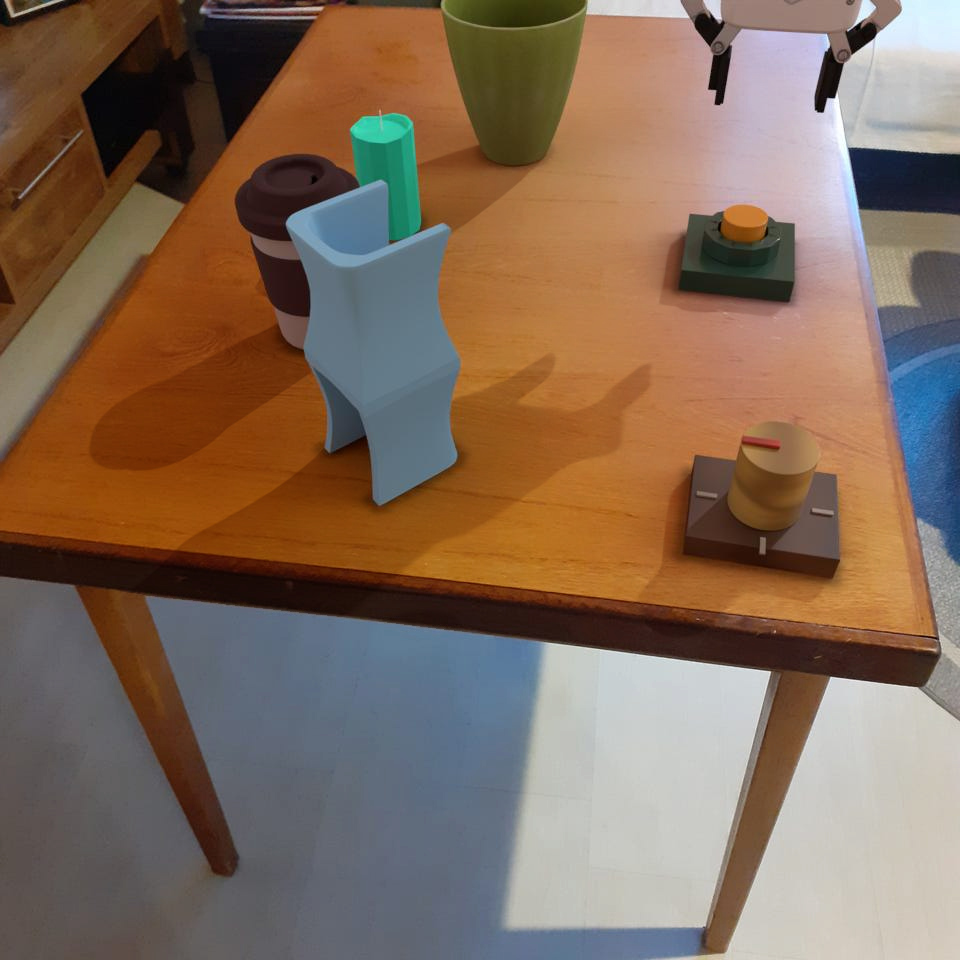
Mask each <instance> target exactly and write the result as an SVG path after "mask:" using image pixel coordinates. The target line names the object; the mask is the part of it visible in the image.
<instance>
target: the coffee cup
mask: <svg viewBox="0 0 960 960" xmlns="http://www.w3.org/2000/svg"><path fill="white" fill-rule="evenodd" d="M357 188H360V185H359V182H358V181H357V178H356V176H355V175H353V174H352V173H351V172H350V171H348V170H346V169H345V168H342V167H340V166H337V165H336V164H335V163H334V162H333V161H332V160H330V159H329V158H326V157H324V156H321V155H318V154H312V153H292V154H291V153H290V154H285V155H281V156H277V157H273V158H271V159H269V160H266V161H264V162H263V163H261V164H260V165H259V166H257V167H256V168H255V169H254V171H253V172H252V173H251V175H250V178H248V179H246V180H245V181H244V182H243V183H242V184H241V185H240V186H239V188H238V189H237V191H236V193H235V194H234V195H235V196H234V206H235V210H236V214H237V218H238V221H239V224H241V226H242V228H244V230H246V231H247V232H249V233H250V246H251V248H252V251H253V254H254V258H255V261H256V264H257V267H258V270H259V274H260V278H261V280H262V282H263V286H264V289H265V293H266V296H267V298H268V300H269V302H270V304H271V305H272V306H273V310H274V313H275V317H276V319H277V322H278V325H279V328H280V332H281V334H282V336H283V338H284V339H285V341H286V342H287V343H289V344H290V345H291V346H293V347H294V348H297V349H300V350H303V351H304V348H303V347H304V342H305V338H306V334H307V330H308V325H309V320H310V309H311V298H310V287H309V283H308V279H307V275H306V273H305V270H304V267H303V264H302V261H301V259H300V257H299V254H298V252H297V250H296V247H295V245H294V243H293V241H292V239H291V237H290V234H289V232H288V230H287V227H286V222H287V220H288V218H289V217H290V216H291V215H292V214H294V213H296V212H298V211H301V210H303V209H305V208H308V207H310V206H313V205H316V204H318V203H321V202H323V201H326V200H329V199H331V198H334V197H337V196H339V195H342V194H344V193H347V192H350V191H352V190H355V189H357Z"/></svg>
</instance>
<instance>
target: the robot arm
mask: <svg viewBox="0 0 960 960" xmlns="http://www.w3.org/2000/svg"><path fill="white" fill-rule="evenodd" d="M679 1H680V4H681V6H682V7H683V9H684V11H685V12H686V14H687V16H688V18H689V19H690V20H691V21H692V23H693V26H694V29H695V30H696V31H697V33H698V34H699V35H700V37H701V38H702V40H704V42H705V43H706V45H707V46H708V47H709V50H710V52H711V54H712V60H711V65H710V72H709V74H710V75H709V78H708V86H707V91H715V97H714V102H713V103H714V104H713V105H714V106H721V105H723V104H724V102H725V97H726V96H725V95H726V90H727V83H728V78H729V77H728V76H729V72H730V67H731V66H730V65H731V59H732V52H733V45H732V43H733V41H734V40H735V38H736V37H737V36H738V35H739V33H740V32H741V30H750V31H763V32H779V33H794V34H795V33H797V34H813V35H814V34H816V35H827V38H828V42H829V47H828V48H827V50H825V51H824V53H823V56H822V57H823V58H822V62H821V66H820V70H819V75H818V78H817V83H816V86H815V91H814V96H813V97H814V98H813V99H814V100H813V101H814V102H813V104H814V105H813V106H814V111H816V113H817V114H824V113H825V110H826V105H827V101H828V99H830V100H831V99H832V100H834V99H836V97H837V94H838V89H839V85H840V82H841V78H842V74H843V70H844V67H845V63H847V62H848V61H850V60H851V57H852V56H853V55H854V54H856V53H857V52H859V51H860V50H861V49H862V48H864V47H865V46H866V45H868V44H870V43H871V42H872V41H873V40H874V39H875V38H876V37H877V35H878V34H879V33H880V32H881V31H883V30H884V29H885V28H887V27H888V26H889V25H890V24H891V23H892V22H893V21H894V20H895V19H896V18H898V17H899V16H900V14H901V13H902V10H903V6H902V2H901V0H869V1H870V3H872V5H874V7H875V8H874V10H873V11H872V12H871V13H870V14H869V15H868V16H867V17H866V18H863V19H862V20H860V21H859V22H858V23H857V24H856V22H857V20H858V17H859V14H860V11H861V8H862V3H863V0H720V17H721V20H720V21H718V20H717V18H716V17H715V16H714V15H713V13H712V12H711V11H710V10H709V9H708V8H707V6H706V3H705V2H704V0H679ZM855 24H856V25H855Z"/></svg>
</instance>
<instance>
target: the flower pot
mask: <svg viewBox="0 0 960 960" xmlns="http://www.w3.org/2000/svg"><path fill="white" fill-rule="evenodd" d="M588 5H589V0H441V2H440V11H441V15H442V21H443V22H442V23H443V26H444V32H445V37H446V41H447V48H448V50H449V55H450V56H449V57H450V59H451V63H452V68H453V71H454V75H455V79H456V82H457V85H458V88H459V89H458V90H459V92H460V95H461V98H462V102H463V105H464V108H465V109H466V113H467V116H468V118H469V121H470V125H471V127H472V129H473V132H474V134H475V136H476V139H477V141H478V144H479V146H480V149H481V151H482V153H483V155H484V156H485V158H486V159H488V160H489V161H492V162H493V163H496V164H498V165H503V166H525V165H529V164H533V163H536V162H539V161H540V160H542V159H543V158H545V156H547V154H548V152H549V150H550V147H551V145H552V142H553V140H554V139H555V136H556V133H557V130H558V127H559V125H560V122H561V119H562V116H563V113H564V110H565V107H566V104H567V100H568V99H569V98H568V97H569V95H570V94H569V93H570V91H571V88H572V83H573V79H574V76H575V73H576V72H575V71H576V68H577V63H578V60H579V55H580V50H581V44H582V38H583V33H584V28H585V22H586V17H587V11H588Z"/></svg>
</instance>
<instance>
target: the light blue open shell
mask: <svg viewBox="0 0 960 960" xmlns="http://www.w3.org/2000/svg"><path fill="white" fill-rule="evenodd" d="M286 227H287V230H288V232H289V234H290V237H291V239H292V241H293V243H294V245H295V247H296V250H297V252H298V254H299V257H300V259H301V261H302V264H303V267H304V270H305V273H306V275H307V279H308V283H309V287H310V298H311V309H310V320H309V325H308V330H307V334H306V338H305V342H304V347H303V348H304V350H303V352H304V358H305V360H306V361H307V364H308V365H309V367H310V369H311V371H312V373H313V375H314V377H315V379H316V382H317V384H318V386H319V389H320V392H321V394H322V397H323V400H324V404H325V408H326V409H325V411H326V419H327V420H326V421H327V422H326V423H327V424H326V426H327V427H326V436H325V443H324V449H325V450H326V451H327V452H328V453H329V454H332V453H334V452H336V451H337V450H340V449H341V448H343V447H345V446H347V445H349V444H351V443H353V442H356V441H357V440H359V439H361V438H363V437H365V436H366V440H367V445H368V449H369V456H370V457H369V458H370V464H371V481H372V482H371V483H372V500H373V501H374V503H375V504H376V505H378V507H381V506H382V505H384V504H386V503H388V502H390V501H392V500H393V499H395V498H397V497H399V496H401V495H402V494H404V493H406V492H408V491H410V490H412V489H414V488H415V487H417V486H419V485H421V484H422V483H424V482H426V481H428V480H430V479H431V478H433V477H435V476H437V475H438V474H440V473H443V472H444V471H446V470H447V469H449V468H450V467H452V466H453V465H454V464H455V463H456V462H457V459H458V451H457V448H456V445H455V442H454V438H453V434H452V429H451V406H452V400H453V394H454V392H455V391H454V390H455V388H456V384H457V380H458V377H459V374H460V370H461V356H460V355H459V353H458V351H457V349H456V347H455V346H454V343H453V341H452V340H451V338H450V335H449V333H448V331H447V328H446V326H445V323H444V320H443V317H442V313H441V307H440V301H439V282H440V281H439V280H440V276H441V269H442V264H443V259H444V256H445V252H446V248H447V245H448V242H449V240H450V235H451V231H452V228H451V227H450V226H448V224H446V223H445V222H441V223H439V224H437V225H433V226H432V227H429V228H426V229H425V230H423V231H420V232H418V233H417V232H416V233H414V234H413V235H412V236H410V237H407V238H403V239H400V240H397V241H396V242H393V243H392V244H390V240H389V230H388V184H387V183H385V182H384V181H383V180H378V181H376V182H373V183H370V184H368V185H365V186H363V187H360V188H357V189H355V190H352V191H350V192H347V193H344V194H342V195H339V196H337V197H334V198H331V199H329V200H326V201H323V202H321V203H318V204H316V205H313V206H310V207H308V208H305V209H303V210H301V211H298V212H296V213H294V214H292V215H291V216H290V217H289V218H288V220H287V222H286Z"/></svg>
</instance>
